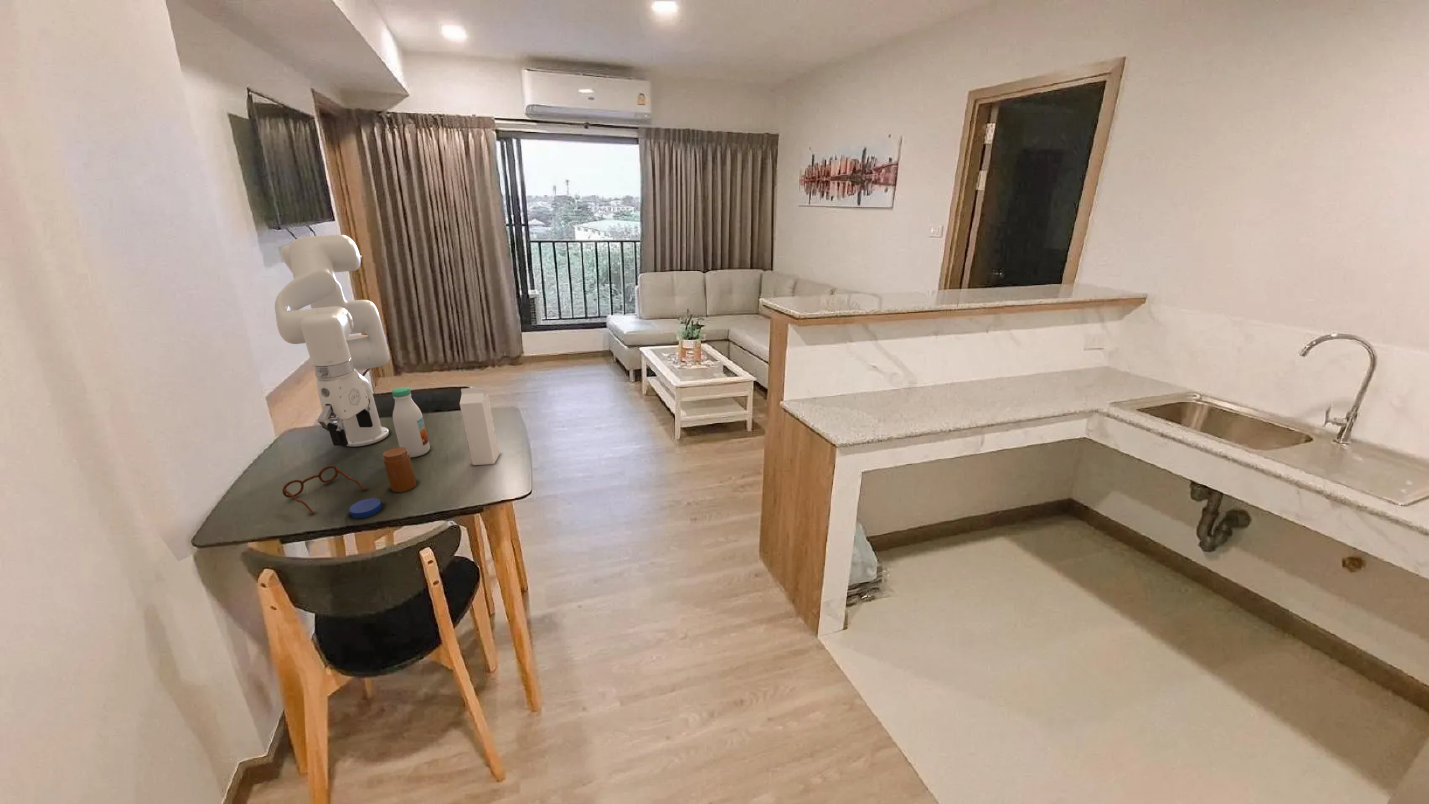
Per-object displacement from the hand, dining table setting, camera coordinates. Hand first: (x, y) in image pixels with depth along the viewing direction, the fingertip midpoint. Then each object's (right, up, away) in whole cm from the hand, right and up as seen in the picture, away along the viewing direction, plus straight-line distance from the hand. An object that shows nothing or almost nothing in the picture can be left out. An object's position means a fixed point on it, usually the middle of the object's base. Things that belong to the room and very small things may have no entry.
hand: (354, 435), depth 134 cm
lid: (+2, -17, +2) cm, 18 cm away
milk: (+21, -9, +26) cm, 35 cm away
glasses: (-13, -16, +9) cm, 23 cm away
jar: (+5, -14, +13) cm, 20 cm away
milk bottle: (-2, -7, +31) cm, 32 cm away
